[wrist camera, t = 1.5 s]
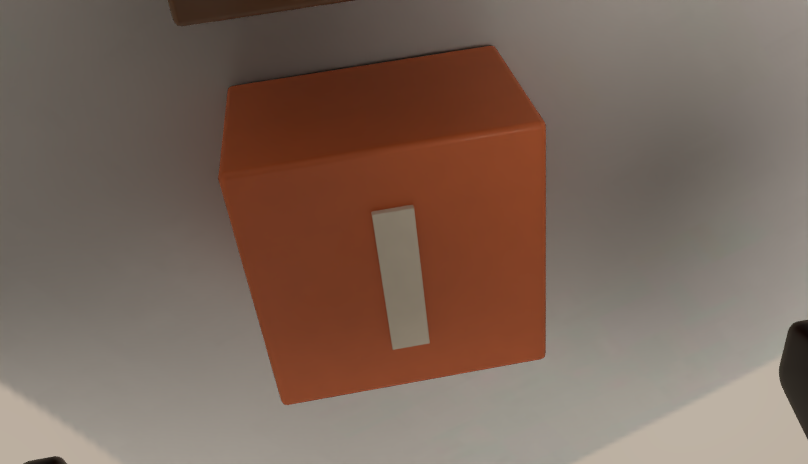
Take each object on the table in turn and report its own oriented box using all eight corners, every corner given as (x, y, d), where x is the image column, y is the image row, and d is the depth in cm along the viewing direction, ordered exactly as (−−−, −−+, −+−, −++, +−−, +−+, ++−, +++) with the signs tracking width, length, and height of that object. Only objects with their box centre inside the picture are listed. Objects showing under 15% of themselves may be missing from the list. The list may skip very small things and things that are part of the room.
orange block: (503, 256, 15) (548, 364, 13) (280, 295, 15) (282, 412, 13) (494, 42, 13) (549, 124, 10) (226, 84, 13) (216, 180, 10)
